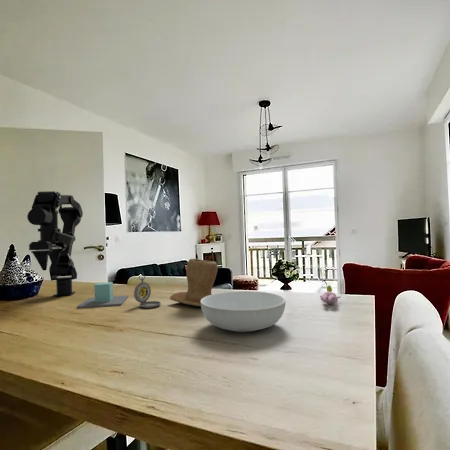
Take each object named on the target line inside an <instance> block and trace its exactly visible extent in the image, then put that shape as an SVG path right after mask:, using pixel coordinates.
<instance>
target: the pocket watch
mask: <svg viewBox="0 0 450 450" xmlns="http://www.w3.org/2000/svg"><path fill="white" fill-rule="evenodd" d="M141 276H142V277H141ZM145 279H146V276H145V275H144V274H141V275H139V276H138V280H139V281H141V282H139V283H138V284H137V285H136V286H135V287H134V291H133V297H134V299H135V300H136V302H138V303H139V307H140V308H144V309H145V308H146V309H150V308H156V307H158V306H161V302H160V301H158V300H150V301H148V300H149V298H150V297H151V292H152V289H151V286H150V285H149V283H148V282H145Z"/></svg>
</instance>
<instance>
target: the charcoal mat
mask: <svg viewBox="0 0 450 450" xmlns="http://www.w3.org/2000/svg"><path fill="white" fill-rule="evenodd" d="M128 298H129V295H113V299H112V300H111V301H110V302H95V296H94V297H88V298H86V299H85V300H84V301H83V302H81V303H80V304H78V305H77V306H76V309H82V308H84V309H85V308H87V307H88V308H99V307H101V306H104V307H115V306H117V307H119V306H122V305H123V304H124V303H125V302H126V300H127V299H128ZM88 308H87V309H88Z"/></svg>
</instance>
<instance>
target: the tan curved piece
mask: <svg viewBox="0 0 450 450" xmlns="http://www.w3.org/2000/svg"><path fill="white" fill-rule="evenodd" d="M218 269H219V268H218V264H217V262H216V261H213V260H206V259H205V260H204V259H199V258H190V259H189V260H187V263H186V280H187V291H179V292H176V293H173V294H172V295H170V297H169V300H171V301H174V302H177V303H180V304H183V305H188V306H194V307H201V303H200V301H201V299H202V298H204V297H206V296H209V295H212V289H213V287H214V283H215V280H216V277H217V274H218Z"/></svg>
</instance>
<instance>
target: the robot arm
mask: <svg viewBox="0 0 450 450" xmlns="http://www.w3.org/2000/svg"><path fill="white" fill-rule="evenodd" d="M63 205H64V206H63ZM65 205H71V206H65ZM58 214H59V215H58ZM59 216H60V219H61V222H63V225H62V230H61V228H59V220H58V218H59ZM26 217H27V220H28V222H29V223H30V224H31V225H34V226H39V228H37V232H38V233H39V237H40V239H39V240H38V239H37V241H32V242H30V243H29V244H28V250H29V251H30V253H32V255H33V256H34V258H35V259H36V261H37V263H38V264H39V266H40V268H41V270H42V271H47V268H48V262H49V260H50V266H49V270H48V271H49V277H50V281H52V282H53V281H55V282H56V287H55V289H56V293H55V294H53V295H52V296H53V297H62V296H63V297H64V296H72V295H73V294H75V293H76V291H75V290H74V291H73V280H76V279H78V272H77V270H76V266H75V263H74V261H73V259H72V250H73V245H74V242H75V241H76V236H75V232H76V227H77V226H78V225H79V224H80V223H81V221H82V218H83V209H82V206H81V204H80V203H79V202H78V201H77V200H75V199H74V196H73V195H71V194H61V192H59V191H57V190H56V191H55V190H53V191H52V190H51V191H45V190H43V191H38V192H37V194H36V195H35V197H34V199H33V204H32V205H31V209H30V210H29V211H28V213H27V215H26Z"/></svg>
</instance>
